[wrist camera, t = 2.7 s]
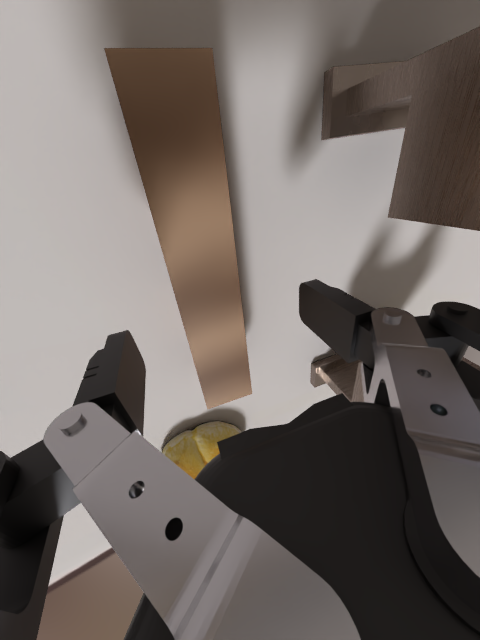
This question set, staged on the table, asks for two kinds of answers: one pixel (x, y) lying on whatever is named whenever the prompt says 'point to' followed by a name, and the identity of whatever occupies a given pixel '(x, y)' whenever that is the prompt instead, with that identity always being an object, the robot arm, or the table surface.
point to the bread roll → (198, 446)
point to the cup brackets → (413, 147)
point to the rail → (188, 201)
